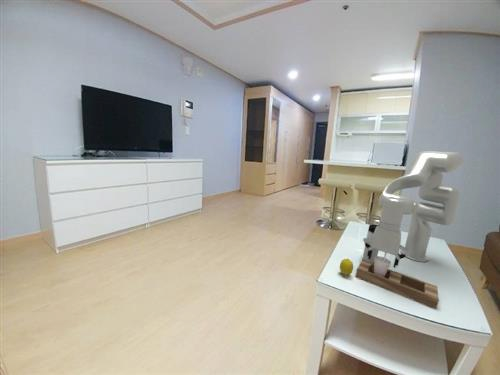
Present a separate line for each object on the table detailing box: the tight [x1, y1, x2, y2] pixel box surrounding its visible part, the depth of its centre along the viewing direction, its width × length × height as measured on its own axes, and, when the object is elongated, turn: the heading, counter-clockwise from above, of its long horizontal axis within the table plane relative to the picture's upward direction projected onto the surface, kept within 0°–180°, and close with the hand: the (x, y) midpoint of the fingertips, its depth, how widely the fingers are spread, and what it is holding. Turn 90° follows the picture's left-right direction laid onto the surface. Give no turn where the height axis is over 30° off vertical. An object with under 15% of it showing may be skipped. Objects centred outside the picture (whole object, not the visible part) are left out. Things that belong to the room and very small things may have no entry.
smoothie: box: [374, 252, 392, 277], centre depth 95 cm, size 6×6×14 cm
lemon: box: [339, 258, 354, 276], centre depth 97 cm, size 6×6×8 cm
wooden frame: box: [355, 259, 440, 310], centre depth 92 cm, size 11×28×4 cm, turn 51°
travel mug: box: [361, 223, 379, 264], centre depth 110 cm, size 6×7×20 cm
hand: (381, 262), depth 95 cm, fingers open, 9 cm apart
